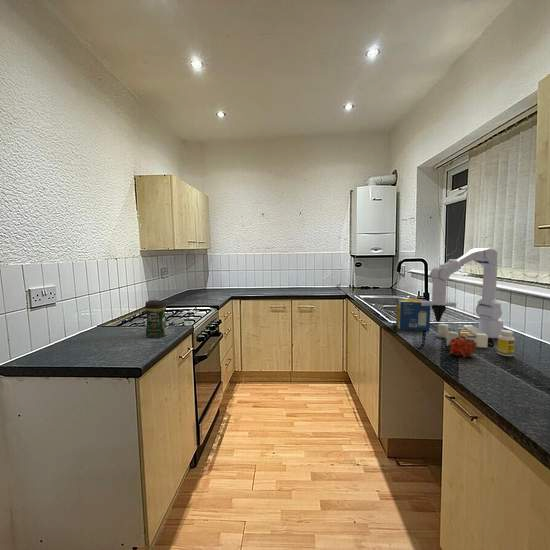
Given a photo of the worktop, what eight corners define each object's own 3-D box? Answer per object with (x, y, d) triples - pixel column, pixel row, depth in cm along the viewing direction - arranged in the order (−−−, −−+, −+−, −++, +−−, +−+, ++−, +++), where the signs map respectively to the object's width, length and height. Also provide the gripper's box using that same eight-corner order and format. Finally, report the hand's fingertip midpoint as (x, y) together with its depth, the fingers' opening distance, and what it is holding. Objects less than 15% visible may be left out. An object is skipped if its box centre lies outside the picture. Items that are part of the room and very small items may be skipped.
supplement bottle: (509, 357, 123) (510, 333, 122) (494, 353, 127) (495, 330, 127) (516, 355, 125) (517, 331, 124) (501, 351, 130) (502, 328, 129)
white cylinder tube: (446, 335, 154) (446, 323, 153) (449, 338, 149) (449, 326, 149) (436, 335, 155) (437, 323, 154) (439, 337, 151) (439, 325, 150)
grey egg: (456, 344, 139) (456, 331, 139) (459, 347, 135) (459, 334, 135) (445, 344, 140) (445, 331, 140) (448, 346, 136) (448, 333, 136)
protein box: (395, 325, 176) (396, 298, 174) (424, 326, 173) (425, 299, 171) (399, 329, 165) (399, 301, 164) (430, 331, 162) (431, 302, 161)
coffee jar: (143, 338, 153) (142, 301, 151) (150, 334, 161) (149, 299, 159) (162, 338, 152) (161, 301, 151) (169, 334, 160) (167, 299, 159)
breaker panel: (471, 336, 152) (472, 325, 152) (487, 347, 135) (487, 334, 134) (455, 335, 154) (456, 324, 154) (468, 346, 137) (469, 333, 136)
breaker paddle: (468, 334, 144) (468, 332, 144) (470, 335, 141) (470, 333, 141) (459, 333, 144) (460, 331, 144) (461, 335, 142) (461, 332, 142)
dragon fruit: (479, 360, 124) (449, 364, 125) (468, 343, 130) (439, 347, 131) (485, 348, 118) (454, 352, 119) (474, 330, 125) (443, 334, 126)
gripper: (424, 293, 142) (423, 322, 143) (459, 294, 138) (457, 324, 140) (420, 291, 149) (419, 319, 150) (454, 292, 145) (452, 320, 146)
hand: (437, 321), depth 145 cm, fingers closed
